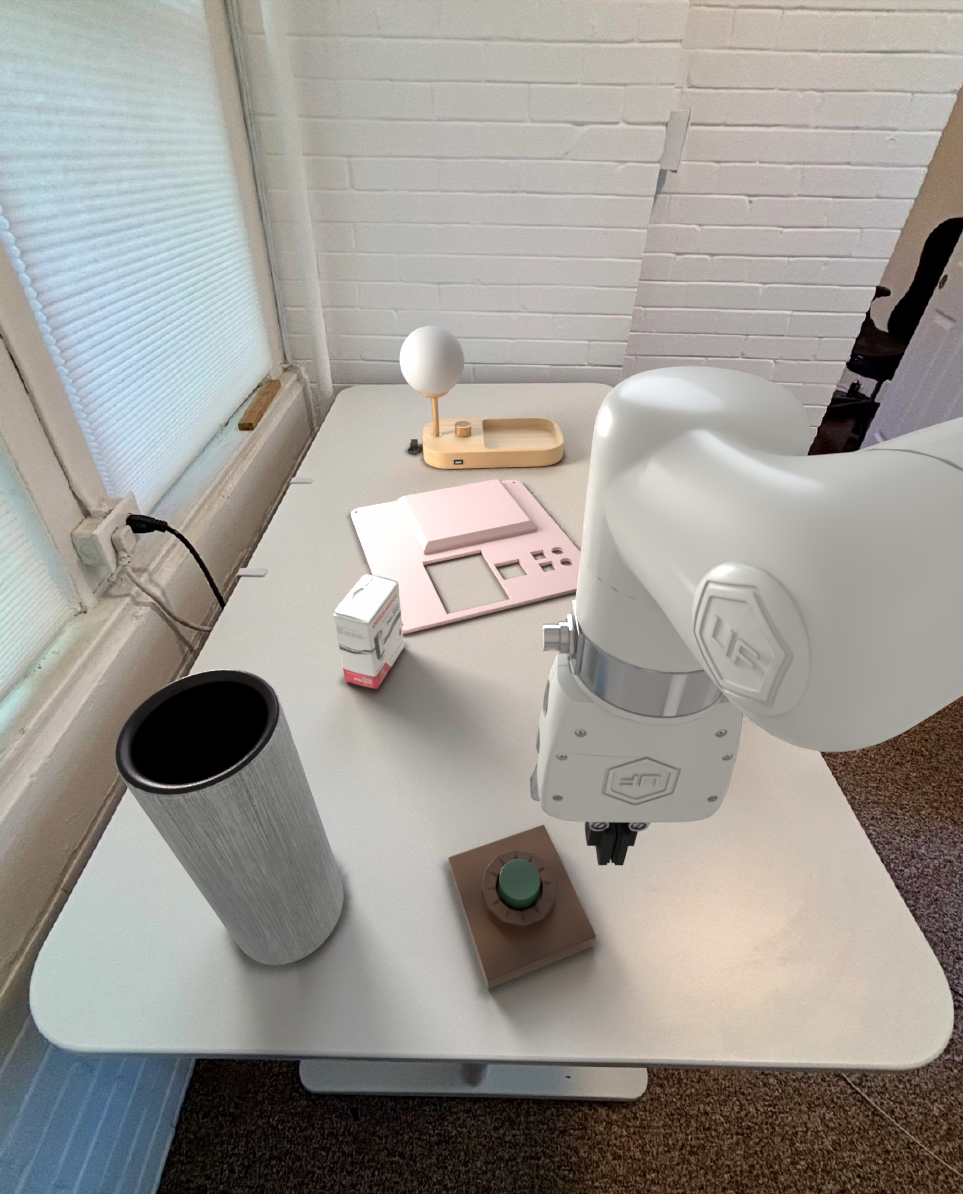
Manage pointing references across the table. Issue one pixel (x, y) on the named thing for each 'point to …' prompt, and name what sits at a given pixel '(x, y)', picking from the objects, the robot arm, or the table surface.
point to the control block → (513, 934)
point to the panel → (465, 546)
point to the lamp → (470, 441)
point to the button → (519, 883)
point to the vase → (235, 809)
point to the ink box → (369, 630)
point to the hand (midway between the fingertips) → (606, 843)
